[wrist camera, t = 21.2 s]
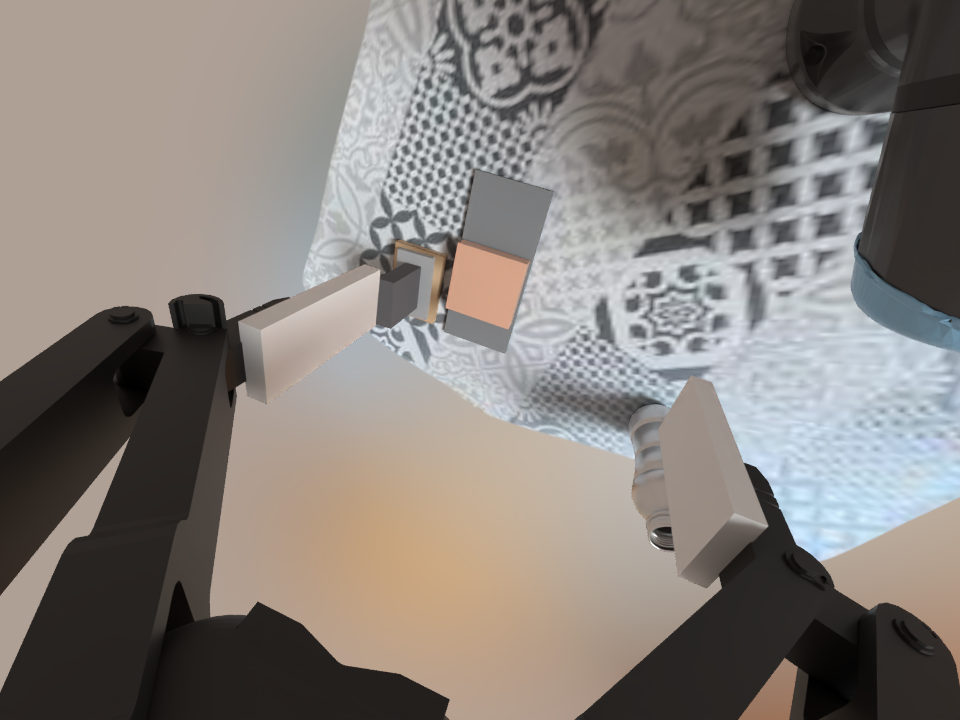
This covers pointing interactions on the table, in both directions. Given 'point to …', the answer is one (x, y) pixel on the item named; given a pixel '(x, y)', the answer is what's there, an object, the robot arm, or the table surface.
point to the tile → (486, 283)
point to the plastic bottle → (651, 475)
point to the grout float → (405, 288)
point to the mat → (500, 241)
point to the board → (437, 274)
